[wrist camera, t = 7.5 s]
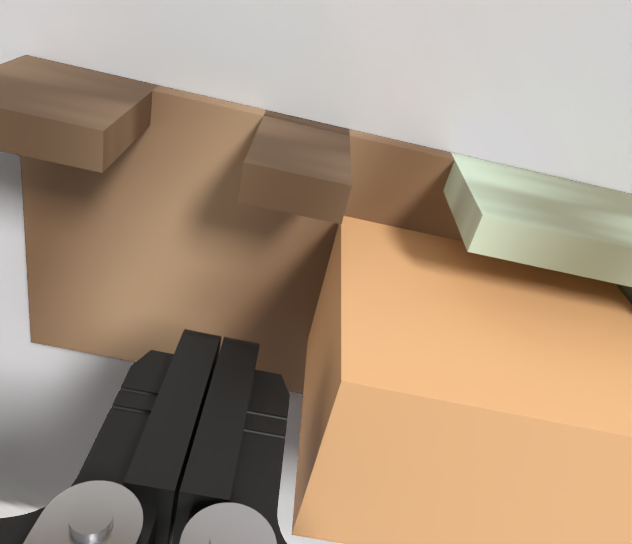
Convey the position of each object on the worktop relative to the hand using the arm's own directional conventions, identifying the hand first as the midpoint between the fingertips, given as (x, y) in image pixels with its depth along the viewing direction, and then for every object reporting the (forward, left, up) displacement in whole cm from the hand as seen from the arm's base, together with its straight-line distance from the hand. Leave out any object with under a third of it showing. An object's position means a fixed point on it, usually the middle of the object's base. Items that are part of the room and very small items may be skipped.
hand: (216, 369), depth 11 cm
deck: (-2, 0, -5) cm, 5 cm away
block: (-6, 0, -4) cm, 7 cm away
